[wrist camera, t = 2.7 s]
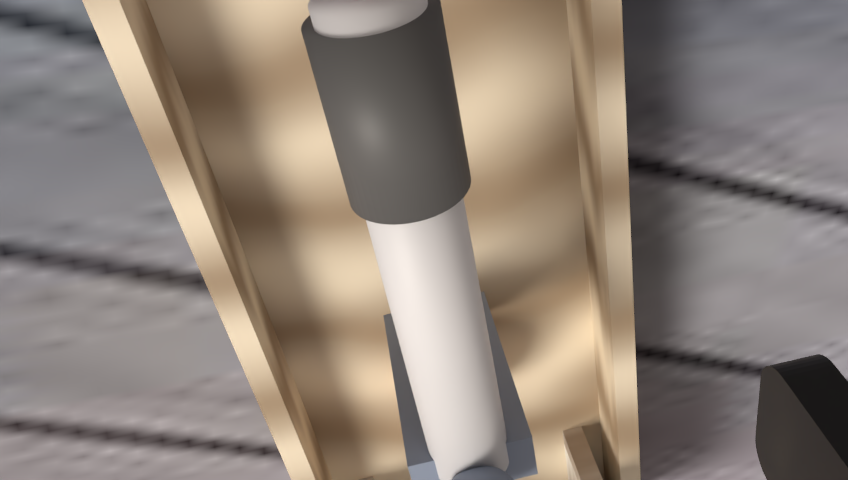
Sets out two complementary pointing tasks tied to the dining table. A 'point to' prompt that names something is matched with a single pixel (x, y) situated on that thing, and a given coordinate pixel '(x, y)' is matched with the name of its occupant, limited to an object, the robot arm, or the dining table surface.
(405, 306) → the rod
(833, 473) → the robot arm
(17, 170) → the dining table surface
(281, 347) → the game board
